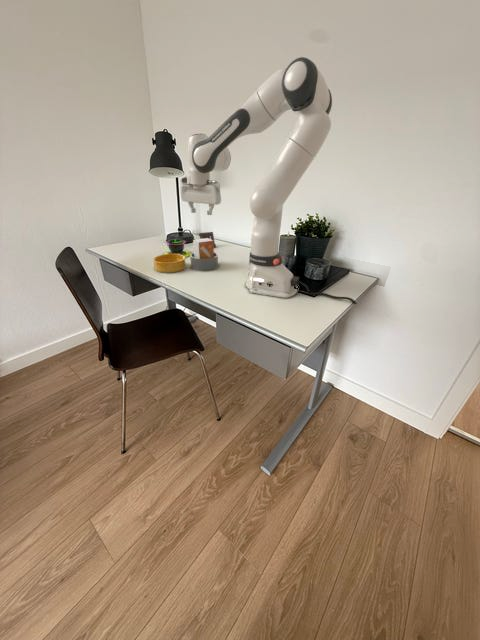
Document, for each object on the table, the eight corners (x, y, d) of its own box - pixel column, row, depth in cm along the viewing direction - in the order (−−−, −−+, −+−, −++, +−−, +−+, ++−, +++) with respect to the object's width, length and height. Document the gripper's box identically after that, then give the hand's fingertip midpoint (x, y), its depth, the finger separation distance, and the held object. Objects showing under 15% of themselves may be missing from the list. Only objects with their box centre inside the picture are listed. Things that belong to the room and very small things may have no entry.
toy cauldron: (176, 249, 161) (174, 230, 156) (195, 253, 155) (194, 234, 149) (158, 255, 150) (155, 235, 145) (178, 260, 144) (175, 239, 138)
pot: (223, 265, 137) (223, 253, 134) (207, 273, 127) (206, 260, 124) (202, 260, 143) (201, 249, 140) (185, 267, 133) (184, 256, 130)
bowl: (191, 266, 135) (190, 256, 132) (170, 275, 124) (169, 265, 121) (170, 261, 141) (168, 252, 139) (148, 269, 130) (146, 259, 128)
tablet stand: (202, 248, 163) (201, 234, 159) (198, 245, 169) (197, 232, 165) (215, 247, 166) (215, 233, 162) (212, 244, 172) (211, 231, 168)
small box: (200, 269, 131) (198, 242, 124) (194, 265, 135) (192, 239, 129) (214, 266, 135) (213, 240, 128) (208, 262, 139) (207, 237, 133)
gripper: (223, 180, 113) (224, 215, 120) (186, 178, 122) (189, 210, 129) (215, 181, 108) (215, 217, 115) (177, 178, 117) (180, 212, 124)
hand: (201, 213), depth 122 cm, fingers open, 8 cm apart
